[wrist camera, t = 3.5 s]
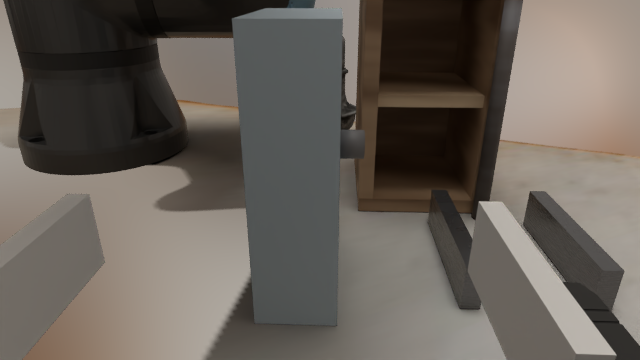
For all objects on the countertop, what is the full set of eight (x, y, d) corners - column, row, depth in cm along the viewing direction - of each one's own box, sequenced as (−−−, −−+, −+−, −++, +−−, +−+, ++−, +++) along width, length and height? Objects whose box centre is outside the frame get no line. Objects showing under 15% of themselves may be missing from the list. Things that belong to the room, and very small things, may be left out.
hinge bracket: (611, 312, 22) (624, 271, 21) (459, 308, 23) (466, 267, 22) (537, 224, 31) (545, 191, 30) (427, 222, 31) (431, 189, 30)
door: (357, 326, 22) (370, 19, 16) (254, 323, 22) (231, 18, 16) (353, 239, 29) (361, 8, 23) (276, 238, 29) (265, 8, 23)
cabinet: (488, 220, 31) (531, -34, 25) (359, 217, 31) (369, -33, 25) (451, 162, 41) (475, -28, 35) (354, 161, 42) (360, -28, 35)
